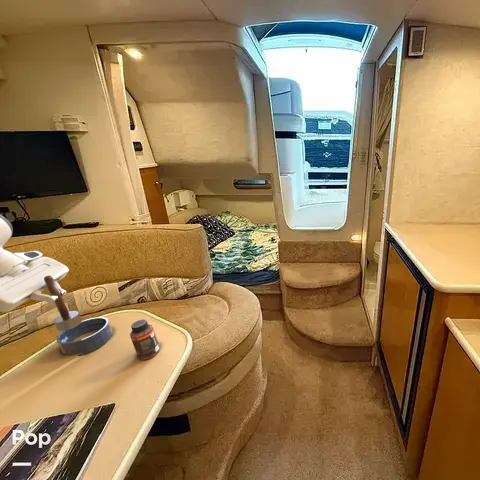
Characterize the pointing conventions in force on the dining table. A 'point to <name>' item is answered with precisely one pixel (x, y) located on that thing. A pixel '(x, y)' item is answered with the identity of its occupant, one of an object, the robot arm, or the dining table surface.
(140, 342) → the supplement bottle
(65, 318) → the peg on round base
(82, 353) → the ring
